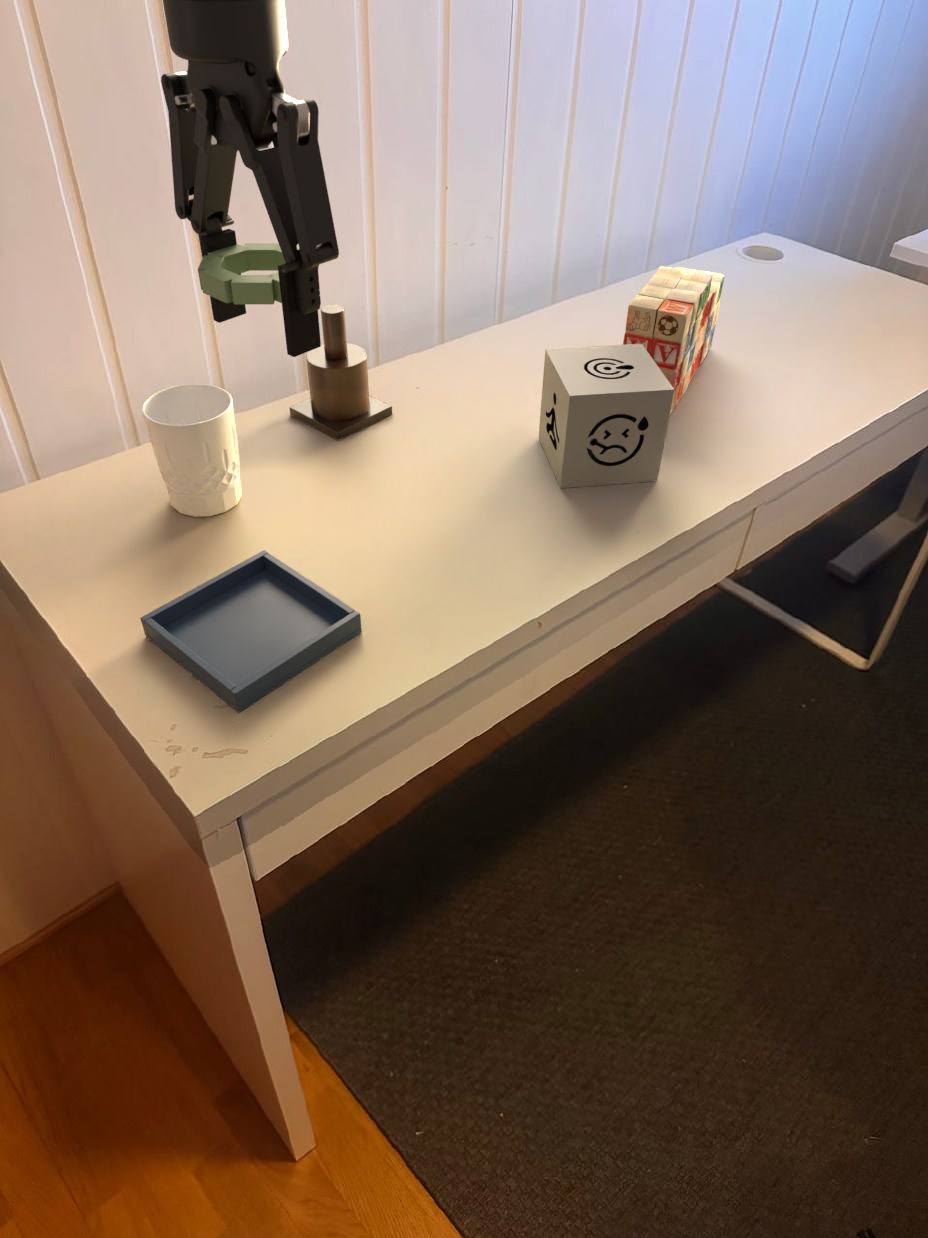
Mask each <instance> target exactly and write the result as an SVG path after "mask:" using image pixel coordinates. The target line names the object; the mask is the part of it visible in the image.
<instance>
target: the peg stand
mask: <svg viewBox="0 0 928 1238" xmlns="http://www.w3.org/2000/svg"><path fill="white" fill-rule="evenodd" d="M345 311H346V310H345V307H344V306H343V305H340V304H336V303H335V304H325V305H324V306H322V307H320V317H321V328H322V337H323V343H321V347H318V348H316V349H313V350H311V351H308V352H306V354H305V362H306V363H305V364H306V370H307V380H308V389H309V398H307V399H305V400H302V401H300V402H298V403H296V404H294V405H292V406H289V414H290V417H292V418H295V419H297V420H299V421H301V422H302V423H304V424H306V425H308V426H310V427H312V428H314V429H315V430H317V431H320V432H321V433H323V434H325V435H327V436H329V437H330V438H332V439H335V440H337V441H340V440H343V439H344V438H346V437H349V436H351V435H352V434H356V433H357V432H359V431H361V430H364V429H366V428H367V427H369V426H371V425H374V424H376V423H377V422H380V421H382V420H383V419H385V418H387V417H390V416H392V415H393V406H392V405H390V404H388V403H386V402H384V401H382V400H380V399H378V398H375V397H373V396H371V395H370V385H369V367H368V353H367V351H366V350H365V349H364V348H363V347H362V346H360V345H357V344H354V343H350V342H348V339H347V325H346V324H347V323H346V313H345Z"/></svg>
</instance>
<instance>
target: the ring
mask: <svg viewBox="0 0 928 1238" xmlns="http://www.w3.org/2000/svg"><path fill="white" fill-rule="evenodd" d="M298 249H299V247H297V250H298ZM201 258H202V257H201ZM285 263H286V262H285V260H284V257H283V254H282V251H281V248H280V246H279V243H278V242H275V243H271V242H270V243H268V242H267V243H265V242H264V243H263V242H258V243H257V242H255V243H254V242H253V243H250V242H248V243H247V242H245V243H244V245H241V244H239V243H237V245H233V246H230V247H227V248H223V249H220V250H216V251H213V252H210V253H208V255H204V256H203V258H202V259H201V261H200V263H199V265H198V268H197V273H198V280H199V285H200V290H201V291H202V293H203V294H205V295H207V296H208V297H210V296H211V297H214V298H216V299H218V300H220V301H223V302H225V303H230V302H234V304H245V305H275V303H276V302H278V303H280V304H282V301H281V292H280V283H279V274H278V266H279V265H282V264H285ZM250 271H251V272H253V271H262V272H264V271H266V272H270V271H272V272H273V271H274V273H271V274H244V273H247V272H250ZM275 271H276V272H275ZM238 274H241V275H238Z"/></svg>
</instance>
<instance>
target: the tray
mask: <svg viewBox="0 0 928 1238" xmlns="http://www.w3.org/2000/svg"><path fill="white" fill-rule="evenodd" d="M361 621H362V619H361V613H360V612H359V611H357V610H355V609H354V608H352V607H351V606H350V605H348V604H346V603H345V602H343V601H342V600H340V598H338V597H336V596H335V595H333V594H332V593H330V592H328V591H327V590H325V589H324V588H322V587H321V586H319V585H318V584H316V583H315V582H314V581H312V580H310V579H309V578H307V577H305V576H304V575H302V574H301V573H300V572H298V571H296V570H295V569H294V568H292V567H290V566H289V565H288V564H286V563H285V562H283V561H281V560H280V559H278V558H277V557H275V556H274V555H272V554H271V553H270V552H267V550H265V549H264V550H261V551H259V552H258V553H256V554H254V555H252V556H251V557H248V558H247V559H245V560H243V561H242V562H240V563H238V564H236V565H234V566H232V567H231V568H229V569H227V570H225V571H223V572H221V573H219V574H217V575H216V576H213V577H212V578H210V579H208V580H206V581H205V582H203V583H201V584H199V585H198V586H195V587H194V588H192V589H190V590H188V591H186V592H185V593H183V594H181V595H179V596H177V597H176V598H174V599H172V600H170V601H168V602H166V603H165V604H163V605H161V606H159V607H157V608H155V609H154V610H152V611H150V612H148V613H146V614H144V615H143V616H141V617H140V622H141V626H142V628H143V633H144V636H145V637H146V638H147V639H148V640H149V641H151V642H152V643H153V644H154V645H155V646H157V647H158V648H159V649H160V650H162V652H164V653H165V654H166V655H168V656H169V657H170V658H171V659H172V660H174V661H175V662H176V663H177V664H179V665H180V666H181V667H182V668H183V669H185V670H186V671H187V672H188V673H189V674H190V675H192V676H193V677H194V678H196V679H197V681H199V682H200V683H201V684H203V685H204V686H205V687H207V689H209V690H210V691H211V692H212V693H214V694H215V695H216V696H218V697H219V698H220V699H221V700H222V701H223V702H225V703H226V704H227V705H228V706H230V708H232V709H234V711H236V712H237V713H238V714H240V713H242V712H243V711H245V710H247V708H249V707H251V706H253V704H255V703H256V702H258V701H259V700H261V699H264V697H266V696H267V695H269V694H270V693H272V692H274V691H275V690H276V689H278V688H279V687H281V686H282V685H284V684H285V683H288V681H290V680H291V679H293V678H294V677H296V676H298V675H299V674H300V673H302V672H304V671H305V670H306V669H308V668H310V667H311V666H312V665H314V664H316V663H318V661H320V660H321V659H323V658H324V657H326V656H328V655H329V654H331V653H332V652H334V651H335V650H337V649H338V648H340V647H341V646H343V645H345V644H346V643H347V642H349V641H351V640H352V639H353V638H355V637H356V636H358V635H359V634H361V633H362V632H363V630H362V622H361Z"/></svg>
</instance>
